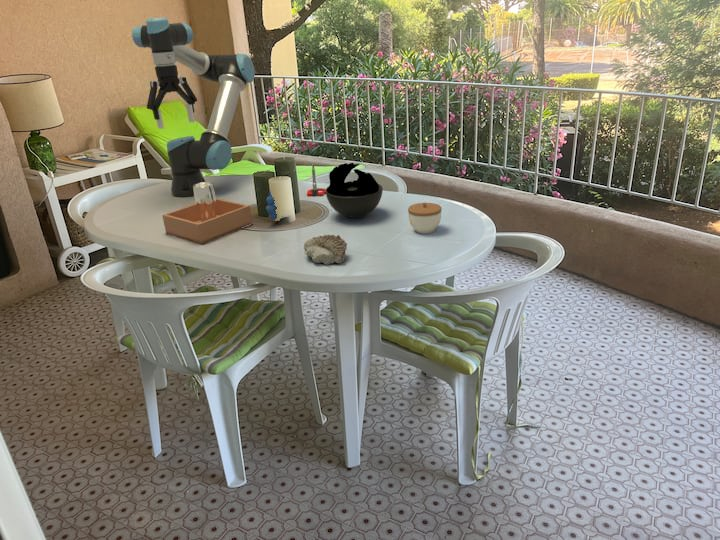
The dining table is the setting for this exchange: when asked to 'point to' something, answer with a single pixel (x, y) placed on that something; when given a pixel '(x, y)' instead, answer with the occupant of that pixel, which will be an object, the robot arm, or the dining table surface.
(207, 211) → the beer glass
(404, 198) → the dining table surface
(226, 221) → the open box
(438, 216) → the lidded jar
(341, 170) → the coal bowl
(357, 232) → the dining table surface
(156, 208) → the dining table surface
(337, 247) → the seashell
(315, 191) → the tow hook
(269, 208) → the grapes
